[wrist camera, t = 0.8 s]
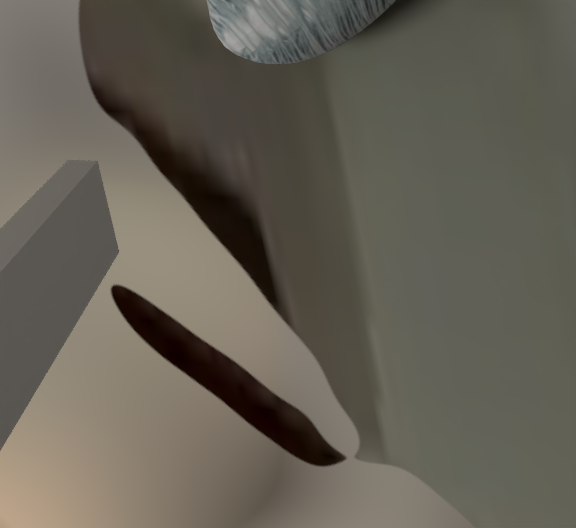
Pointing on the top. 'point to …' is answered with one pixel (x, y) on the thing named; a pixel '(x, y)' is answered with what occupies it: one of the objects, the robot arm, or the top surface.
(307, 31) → the grey streaked egg shape
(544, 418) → the top surface
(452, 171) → the top surface
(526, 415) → the top surface
